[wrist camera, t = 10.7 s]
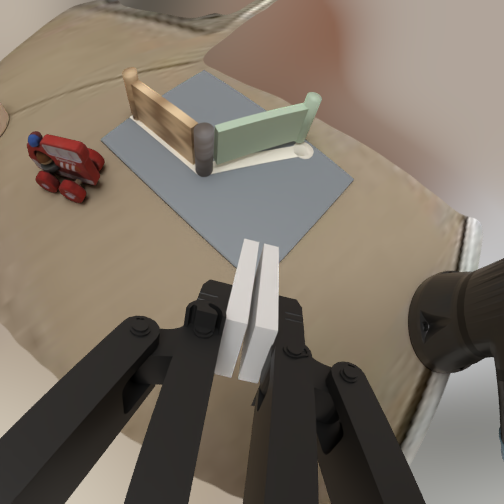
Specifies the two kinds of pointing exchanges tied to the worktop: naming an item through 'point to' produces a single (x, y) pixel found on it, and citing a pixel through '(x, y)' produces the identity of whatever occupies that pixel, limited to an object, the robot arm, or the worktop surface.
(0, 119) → the teacup with lid
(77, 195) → the toy fire truck
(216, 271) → the worktop surface
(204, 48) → the worktop surface
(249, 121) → the hinged fence panel
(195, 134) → the fixed fence panel
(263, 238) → the card
